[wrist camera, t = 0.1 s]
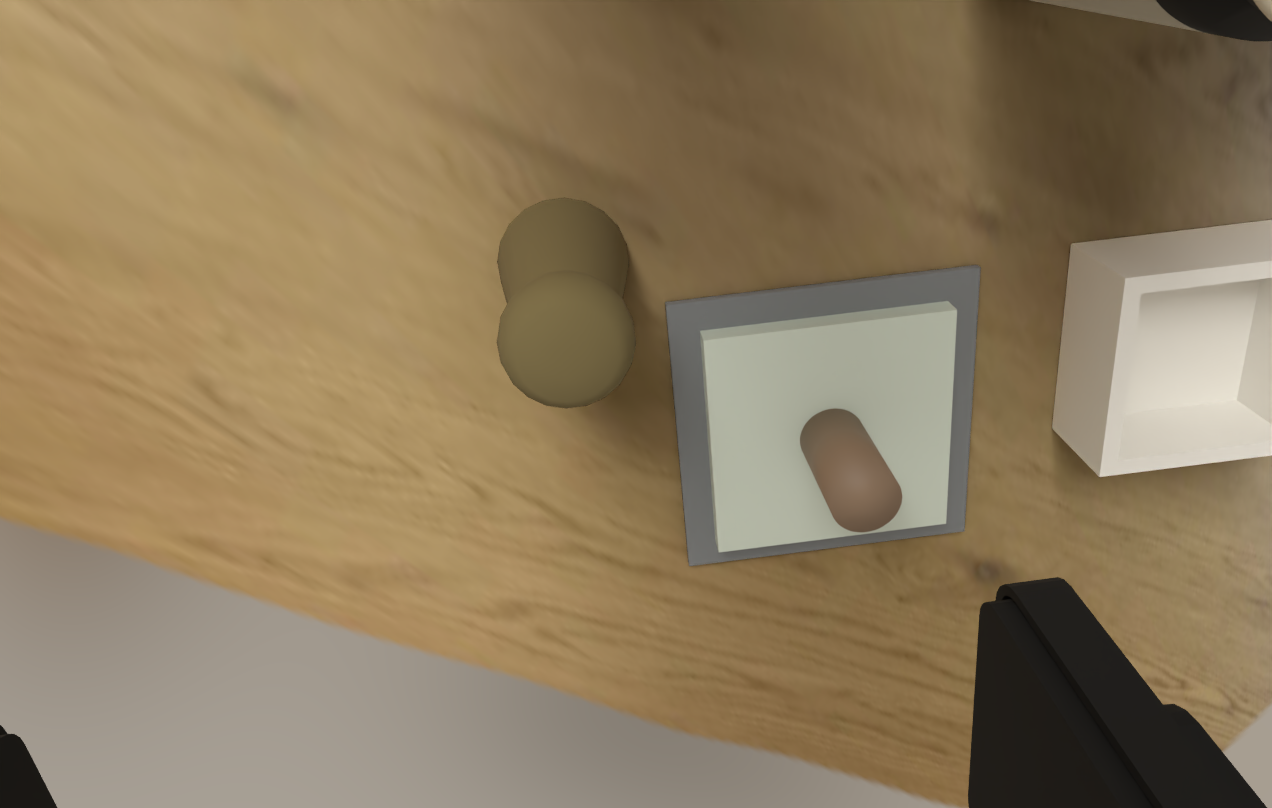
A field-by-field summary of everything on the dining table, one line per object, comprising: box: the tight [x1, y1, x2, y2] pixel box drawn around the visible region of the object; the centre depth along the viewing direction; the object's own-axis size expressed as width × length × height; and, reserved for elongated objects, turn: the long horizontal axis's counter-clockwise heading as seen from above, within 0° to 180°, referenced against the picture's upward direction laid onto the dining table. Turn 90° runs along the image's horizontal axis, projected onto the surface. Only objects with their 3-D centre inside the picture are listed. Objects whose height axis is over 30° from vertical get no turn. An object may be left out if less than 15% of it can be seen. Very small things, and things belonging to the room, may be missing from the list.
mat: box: [665, 265, 981, 566], centre depth 50 cm, size 15×15×1 cm
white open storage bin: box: [1052, 220, 1272, 477], centre depth 47 cm, size 10×10×5 cm
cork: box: [497, 198, 636, 408], centre depth 41 cm, size 6×6×11 cm
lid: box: [700, 301, 957, 552], centre depth 47 cm, size 12×12×7 cm
